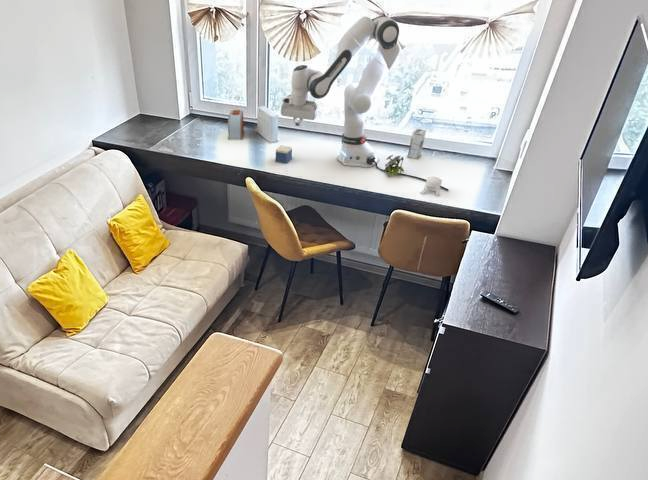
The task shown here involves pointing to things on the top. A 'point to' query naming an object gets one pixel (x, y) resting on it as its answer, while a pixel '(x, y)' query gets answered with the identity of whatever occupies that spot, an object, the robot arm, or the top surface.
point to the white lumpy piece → (433, 184)
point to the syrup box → (416, 143)
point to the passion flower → (394, 168)
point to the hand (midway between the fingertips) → (297, 125)
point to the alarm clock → (235, 124)
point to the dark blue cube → (283, 154)
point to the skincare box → (267, 124)
